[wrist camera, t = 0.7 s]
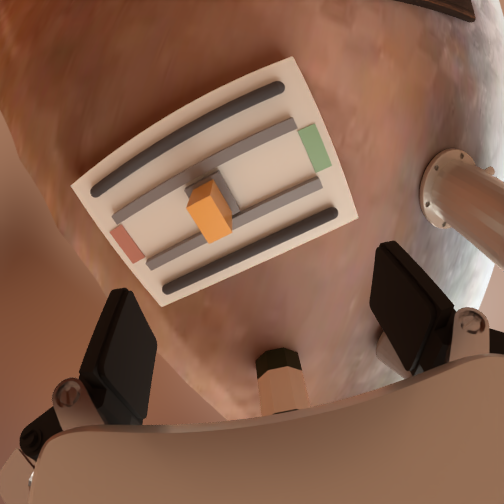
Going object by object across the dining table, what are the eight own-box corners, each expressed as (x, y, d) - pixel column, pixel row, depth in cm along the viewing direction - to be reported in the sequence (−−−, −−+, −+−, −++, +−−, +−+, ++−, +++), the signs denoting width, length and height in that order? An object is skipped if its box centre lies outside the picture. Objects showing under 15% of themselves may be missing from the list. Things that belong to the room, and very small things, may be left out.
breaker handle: (218, 169, 28) (216, 186, 23) (240, 207, 31) (242, 232, 25) (185, 187, 29) (175, 208, 24) (207, 223, 31) (203, 251, 26)
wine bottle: (246, 360, 49) (261, 524, 23) (286, 341, 47) (321, 514, 21) (270, 379, 52) (291, 523, 27) (307, 362, 50) (343, 511, 25)
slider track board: (287, 60, 26) (294, 54, 22) (349, 208, 35) (361, 221, 32) (81, 178, 30) (66, 188, 27) (165, 293, 40) (160, 311, 36)
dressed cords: (279, 79, 24) (282, 78, 23) (337, 213, 32) (341, 218, 31) (91, 187, 28) (86, 191, 27) (167, 291, 36) (165, 298, 35)
